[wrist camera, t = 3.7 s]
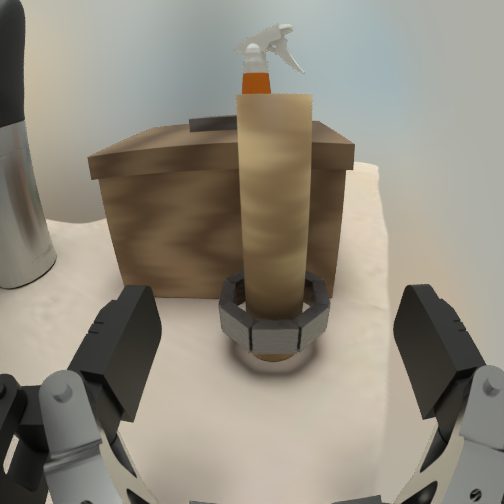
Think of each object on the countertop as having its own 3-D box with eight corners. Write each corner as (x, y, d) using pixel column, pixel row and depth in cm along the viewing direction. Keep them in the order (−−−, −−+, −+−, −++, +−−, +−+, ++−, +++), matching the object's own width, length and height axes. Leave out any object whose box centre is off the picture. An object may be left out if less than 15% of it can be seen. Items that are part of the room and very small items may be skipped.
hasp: (217, 352, 17) (200, 227, 13) (231, 273, 25) (224, 174, 21) (331, 352, 17) (352, 226, 13) (314, 272, 24) (321, 174, 20)
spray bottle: (295, 209, 42) (294, 17, 29) (227, 198, 47) (219, 26, 33) (310, 194, 48) (310, 28, 35) (249, 185, 52) (243, 33, 39)
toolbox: (122, 297, 26) (85, 141, 19) (165, 226, 39) (151, 117, 32) (337, 300, 25) (355, 126, 18) (314, 224, 38) (318, 110, 31)
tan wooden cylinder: (246, 361, 20) (232, 95, 12) (249, 325, 23) (239, 94, 15) (300, 361, 20) (317, 95, 12) (297, 324, 23) (306, 94, 15)
